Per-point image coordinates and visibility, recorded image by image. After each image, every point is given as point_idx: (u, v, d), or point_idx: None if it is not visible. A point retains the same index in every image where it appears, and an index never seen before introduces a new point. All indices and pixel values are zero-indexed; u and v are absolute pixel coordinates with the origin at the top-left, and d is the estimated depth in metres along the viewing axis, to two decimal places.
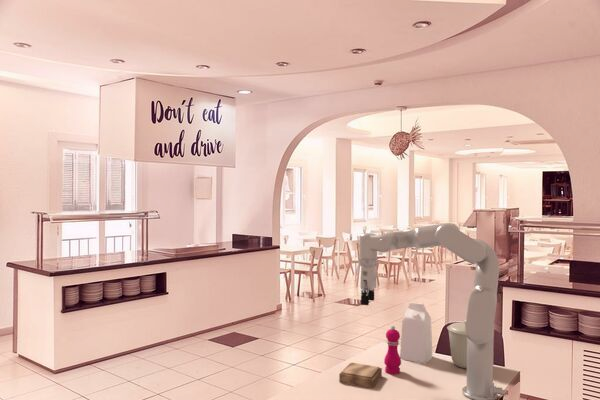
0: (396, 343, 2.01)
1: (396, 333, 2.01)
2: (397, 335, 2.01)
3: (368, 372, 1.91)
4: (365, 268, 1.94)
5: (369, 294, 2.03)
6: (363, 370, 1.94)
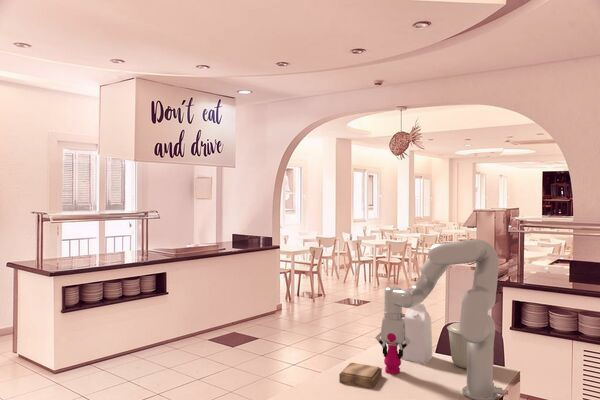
0: (396, 343, 2.01)
1: None
2: None
3: (368, 372, 1.91)
4: (403, 321, 2.01)
5: (386, 350, 2.04)
6: (363, 370, 1.94)
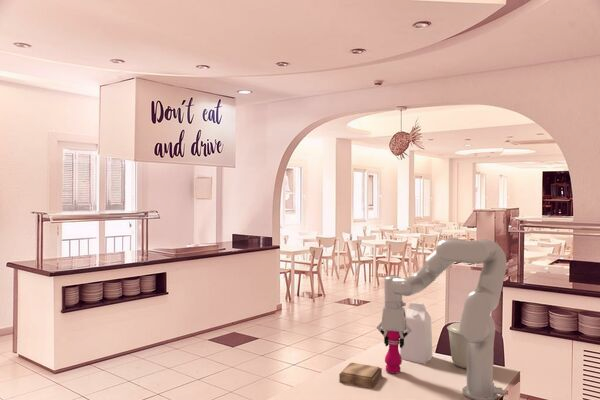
0: (397, 342, 2.01)
1: (397, 332, 2.01)
2: (398, 334, 2.01)
3: (368, 372, 1.91)
4: (403, 310, 2.01)
5: (387, 339, 2.04)
6: (363, 370, 1.94)
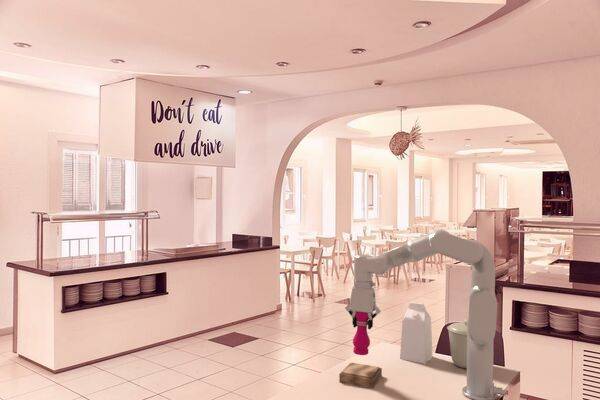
0: (365, 323, 1.93)
1: (366, 313, 1.93)
2: (367, 315, 1.93)
3: (368, 372, 1.91)
4: (373, 290, 1.93)
5: (356, 321, 1.96)
6: (363, 370, 1.94)
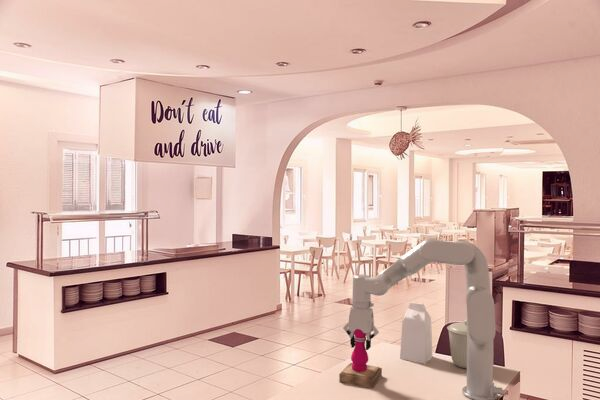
0: (363, 339, 1.93)
1: None
2: None
3: (368, 372, 1.91)
4: (371, 310, 1.93)
5: (353, 341, 1.95)
6: None
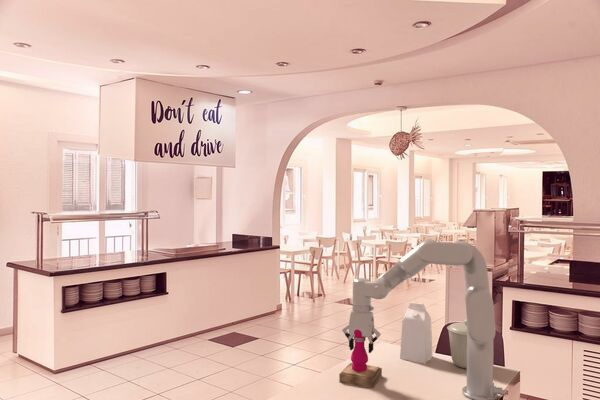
0: (363, 339, 1.93)
1: None
2: None
3: (368, 372, 1.91)
4: (371, 314, 1.93)
5: (352, 343, 1.96)
6: None
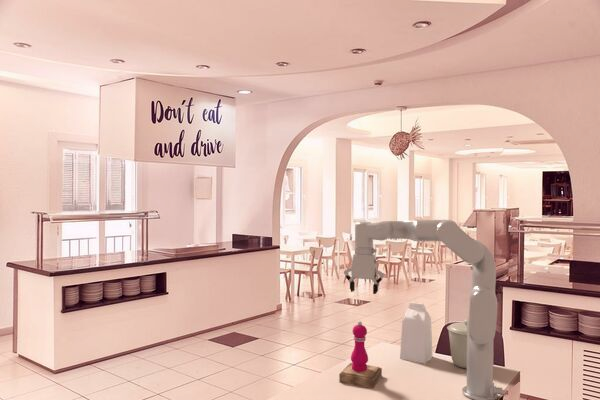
0: (363, 339, 1.93)
1: (363, 329, 1.93)
2: (364, 331, 1.93)
3: (368, 372, 1.91)
4: (374, 256, 1.93)
5: (353, 285, 1.96)
6: None
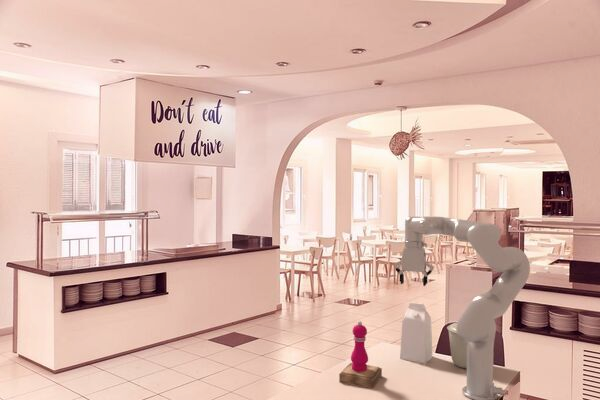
0: (363, 339, 1.93)
1: (363, 329, 1.93)
2: (364, 331, 1.93)
3: (368, 372, 1.91)
4: (424, 250, 2.01)
5: (402, 277, 2.04)
6: None
